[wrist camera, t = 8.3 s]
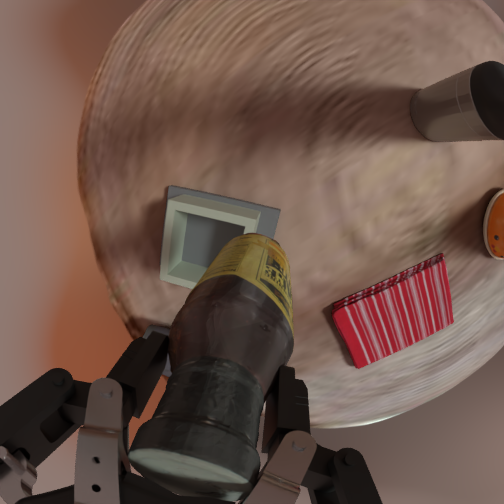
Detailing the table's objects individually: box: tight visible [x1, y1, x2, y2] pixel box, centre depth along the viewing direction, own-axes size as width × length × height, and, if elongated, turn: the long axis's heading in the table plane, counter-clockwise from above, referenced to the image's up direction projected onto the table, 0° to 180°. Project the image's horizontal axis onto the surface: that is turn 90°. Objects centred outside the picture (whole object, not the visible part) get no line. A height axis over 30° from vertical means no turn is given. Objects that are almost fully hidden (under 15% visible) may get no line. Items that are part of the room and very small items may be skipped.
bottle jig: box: [160, 185, 280, 289], centre depth 41 cm, size 18×14×7 cm
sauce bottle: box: [128, 233, 294, 501], centre depth 15 cm, size 7×6×20 cm
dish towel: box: [332, 253, 454, 369], centre depth 44 cm, size 17×24×3 cm
